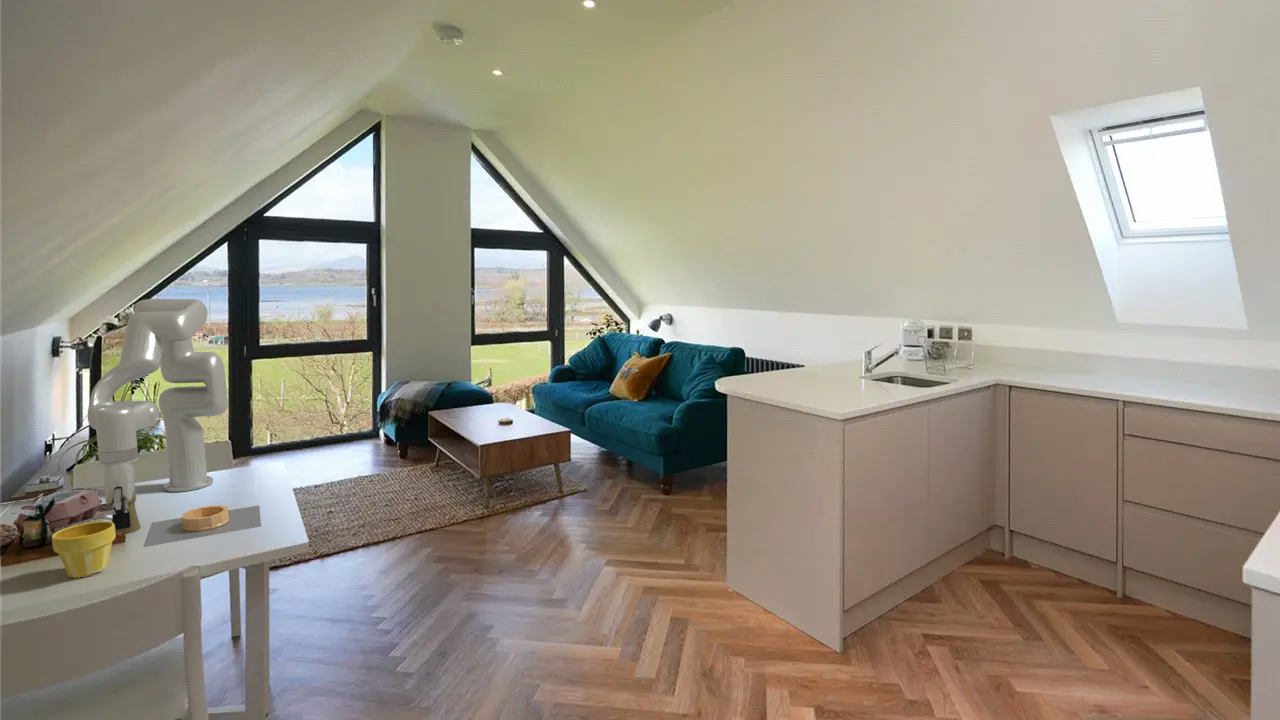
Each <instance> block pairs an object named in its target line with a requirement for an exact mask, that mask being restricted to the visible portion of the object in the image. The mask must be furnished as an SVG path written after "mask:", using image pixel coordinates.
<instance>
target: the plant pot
mask: <svg viewBox="0 0 1280 720" xmlns="http://www.w3.org/2000/svg"><path fill="white" fill-rule="evenodd" d="M116 537H117V535H116V533H115V525H114V523H113V522H112V521H106V520H102V521H101V520H99V521H90V522H89V521H88V522H84V523H80V524H74V525H71V526H68V527H66V528H62V529H61V530H58V531H56V532H54V533H53V534H52V536H51V544H52V548H53V552H54V553H57V554H58V556H59V558H60V560H61V562H62V565H63V567H64V569H65V571H66V574H67V575H68V577H69V578H71V577H73V578H72V579H81V578H80V577H83V578H88V577H92V576H95V574H96V575H98V574H101V573H103V572H102V571H103V568H106V567H107V566H108V565H109V564H110V560H111V552H112V544H113V542H114V540H115V539H116ZM99 570H101V571H99ZM100 572H101V573H100Z"/></svg>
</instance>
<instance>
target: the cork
mask: <svg viewBox="0 0 1280 720" xmlns="http://www.w3.org/2000/svg"><path fill="white" fill-rule="evenodd" d="M122 493H123V491H122ZM121 500H125V499H121ZM136 501H137V494H136V492H135V493H133V496H132V499H131V500H130V501H129V502H128V512H130V522H131V526H130V527H129V528H124V529H118V530H115V532H123V533H124V534H123V535H128V534H132V533H134V532H137V531H140V529H141V525H140V521H139V517H138V513H137V509H136V505H135V506H134V503H135V502H136ZM109 505H110V506H111V507H112V508H113V501H112V503H110V504H109ZM123 505H124V504H123ZM111 522H113V515H112V516H111Z"/></svg>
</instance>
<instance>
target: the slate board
mask: <svg viewBox="0 0 1280 720" xmlns="http://www.w3.org/2000/svg"><path fill="white" fill-rule="evenodd" d="M228 514H229V522H228V523H227V524H225V525H223V526H221V527H218V528H215V529H212V530H207V531H200V532H187V531H184V530H183V527H182V517H178V518H172V519H166V520H159V521H153V522H151V525H150V527H149V530H148V534H147V536H146V539H145V542H144V545H143V548H146V547H153V546H158V545H163V544H170V543H174V542H175V543H176V542H180V541H186V540H191V539H199V538H202V537H203V538H204V537H210V536H215V535H219V534H225V533H230V532H238V531H243V530H247V529H248V530H249V529H255V528H259V527H262V521H261V519H262V518H261V510H260V505H252V506H246V507H240V508H234V509H228Z"/></svg>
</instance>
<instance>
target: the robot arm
mask: <svg viewBox="0 0 1280 720" xmlns="http://www.w3.org/2000/svg"><path fill="white" fill-rule="evenodd" d="M133 309H134V313H133V314H132V315H131V316H129V318H128V321H127V325H126V327H125V328H126V329H125V334H124V340H123V345H122V349H121V355H120V359H119V362H118V363H117V365H115V366H113V368H111V369H110V370H109V371H107V372H106V373H105V374H104V375H103V376H102V377H101V378H100V379H99V380H98V381H97V383H96V384H95V385H94V387H93V388H92V390H91V394H90V399H89V404H88V408H87V422H88V424H89V426H90V427H91V428H92V429H93V430H95V432H96V440H97V453H98V461H99V462H98V464H99V465H100V466H104V467H103V468H104V469H103V471H104V472H103V473H104V474H103V481H104V498H105V502H104V503H105V505H107V506H108V505H110V503H112V501H113V507H112V515H113V523H114V525H115V530H118V529H124V528H129V527H130V526H131V522H130V512H128V502H129V501H130V500H131V499H132V496H133V493H135V494H136V481H135V479H136V477H135V467H134V462H136V461H138V460H139V452H138V451H139V449H138V439H137V438H138V437H137V431H141V430H147V429H150V428H152V427H154V425H156V423H158V420H159V419H160V415H161V416H162V420H163V425H164V426H163V427H164V432H165V441H166V453H167V454H166V455H167V466H168V476H169V479H168V480H169V482H168V481H167V482H166V483H164V485H163V490H164V491H167V492H173V493H175V492H176V493H177V492H187V491H193V490H199V489H203V488H205V487H208V486H210V485H212V484H213V482H214V478H213V477H211V476H208V473H207V472H208V471H207V460H206V449H205V437H204V434H205V432H204V429H203V427H202V425H201V423H200V422H199V421H198V420H197V419H196V418H197V417H215V416H216V417H217V416H221V415H223V414H224V413H226V411H227V409H228V405H229V400H228V399H229V398H228V390H227V389H228V388H227V381H226V380H227V379H226V372H225V364H224V361H223V359H222V357H221V355H219V354H218V353H215V352H212V351H195V350H194V347H193V337H194V336H195V335H196V334H197V333H198V331H200V330H201V329H202V328H203V327H204V325H205V324H206V322H207V320H208V309H207V306H206V305H205V303H204V302H203V301H201V300H199V299H194V298H193V299H192V298H149V299H142V300H140V301H139V300H138V301H137V302H136V303H135V304H134V308H133ZM159 368H160V373H161V377H162V378H163V380H164V381H166V383H169V384H170V383H171V384H196V383H197V384H198V383H199V384H200V383H202V384H204V385H202V386H201V385H198V386H197V385H196V386H194V385H192V386H191V385H190V386H188V385H187V386H174V387H170V388H169V387H168V388H166V389H165V390H163V391H162V392H161V393H160V395H159V397H158V405H157V404H156V403H154V401H153V402H152V401H149V400H123V401H122V400H119V401H112V398H113V397H114V395H115V393H116V392H117V391H118V390H119V389H120V388H122V387H124V386H125V385H127V384H129V383H130V382H134V381H135V380H138V379H140V378H143V377H146V376H148V375H151V374H153V373H155V372H156V371H158V370H159ZM160 413H161V414H160ZM122 491H123V493H122ZM121 499H125V500H121ZM123 504H124V505H123ZM134 506H135V507H136V505H135V503H134Z"/></svg>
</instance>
